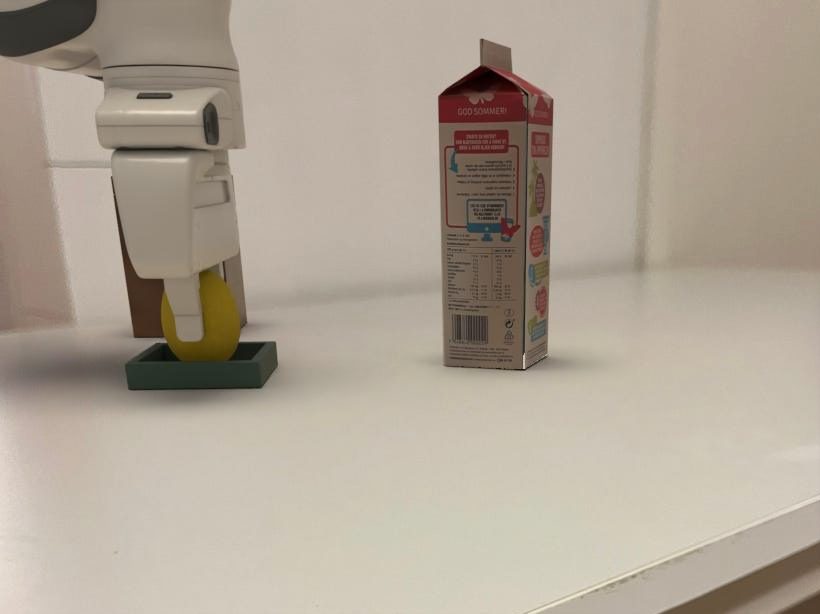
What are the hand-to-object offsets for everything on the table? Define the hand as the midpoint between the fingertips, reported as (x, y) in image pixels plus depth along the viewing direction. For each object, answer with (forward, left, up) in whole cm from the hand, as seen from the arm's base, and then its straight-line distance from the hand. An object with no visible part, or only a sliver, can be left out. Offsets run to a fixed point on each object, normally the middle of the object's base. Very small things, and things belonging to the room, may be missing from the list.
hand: (202, 333), depth 74 cm
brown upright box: (-6, +25, -3) cm, 25 cm away
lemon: (0, 0, -3) cm, 3 cm away
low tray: (0, 0, -3) cm, 3 cm away
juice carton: (+22, +5, -3) cm, 23 cm away
